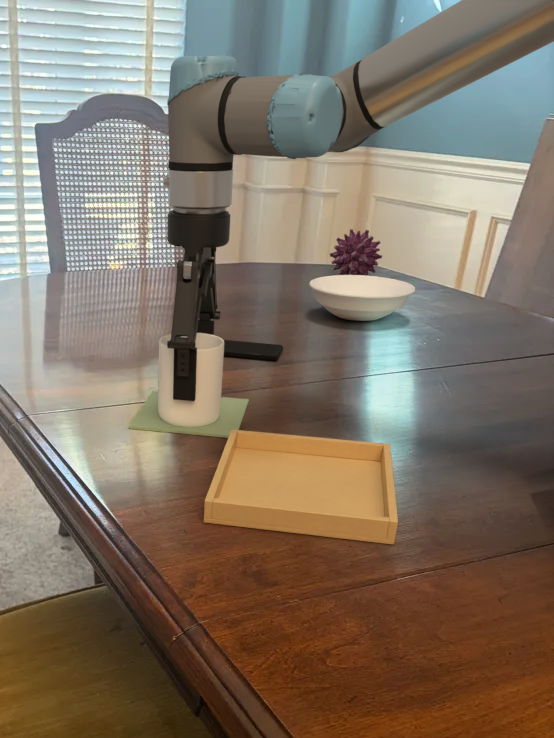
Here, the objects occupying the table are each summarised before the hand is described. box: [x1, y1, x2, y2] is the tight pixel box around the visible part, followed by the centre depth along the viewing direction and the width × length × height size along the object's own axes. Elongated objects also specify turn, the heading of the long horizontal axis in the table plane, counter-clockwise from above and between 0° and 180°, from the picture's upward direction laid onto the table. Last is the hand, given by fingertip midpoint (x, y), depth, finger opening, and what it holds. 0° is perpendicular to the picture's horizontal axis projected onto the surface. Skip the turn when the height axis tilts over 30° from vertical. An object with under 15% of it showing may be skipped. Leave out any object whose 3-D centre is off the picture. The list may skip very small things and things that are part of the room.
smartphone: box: [223, 339, 284, 361], centre depth 130 cm, size 7×1×15 cm
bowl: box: [308, 274, 416, 322], centre depth 149 cm, size 20×20×6 cm
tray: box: [203, 429, 399, 545], centre depth 84 cm, size 19×20×2 cm
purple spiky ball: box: [329, 228, 383, 276], centre depth 179 cm, size 12×12×12 cm
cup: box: [157, 333, 225, 427], centre depth 101 cm, size 8×12×10 cm
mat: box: [128, 390, 250, 439], centre depth 104 cm, size 14×14×1 cm
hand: (193, 383), depth 102 cm, fingers open, 13 cm apart
